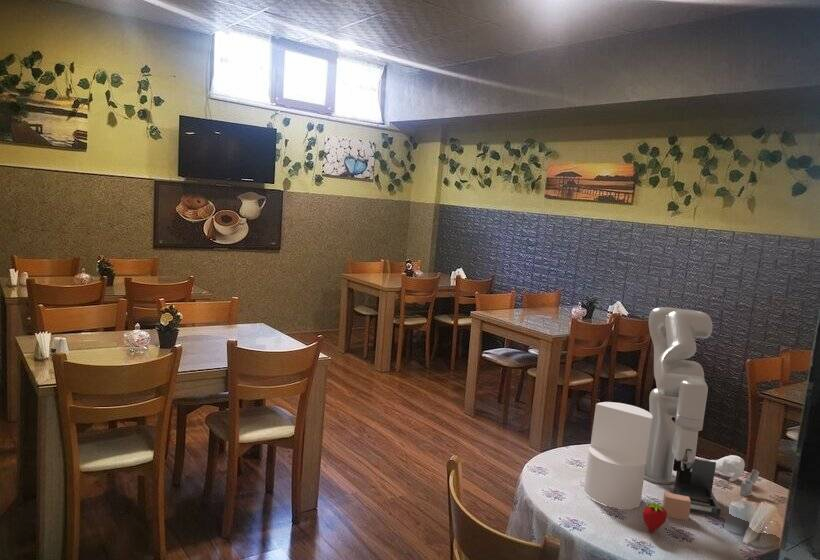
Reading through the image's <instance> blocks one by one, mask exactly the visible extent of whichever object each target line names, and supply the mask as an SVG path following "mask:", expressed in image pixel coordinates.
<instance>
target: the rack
mask: <svg viewBox="0 0 820 560" xmlns="http://www.w3.org/2000/svg"><path fill="white" fill-rule="evenodd" d="M686 460H687V459H686ZM685 464H686V463H685ZM715 467H716V462H712V461H709V460H705V459H700V458H695V461H694V463H692V475H691V482H690V485H686V484H681V483H679V482H678V478H679V472H678V471H676V473H675V474H676V475H675V476H676V480H675V483H674V489H673V491H674V494H677V495H682V496H688V497H689V498H690V501H691V505H690V512H692V513H697V514H702V515H708V516H710V517H711V516H712V517H716V518H720V517H721V512H722V511H721V507H720V505H719V503H718V500H717V499H716V497H715V495H714V493H713V486H714V481H715V479H714V478H715V472H716V471H715Z"/></svg>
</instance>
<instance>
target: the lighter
mask: <svg viewBox="0 0 820 560" xmlns="http://www.w3.org/2000/svg"><path fill="white" fill-rule="evenodd" d="M759 475H760V471H758V470H757V469H752V471H751V473H750V475H749V478H745V479H744V481H742V482H741V485H740V491H739V495H740V496H742V497H745V496H746V497H748V496H747V495H749V494H751V495H752V491H753V486H754V484H756V482H757V480H758V477H759ZM749 496H750V495H749Z"/></svg>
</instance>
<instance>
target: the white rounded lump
mask: <svg viewBox="0 0 820 560" xmlns="http://www.w3.org/2000/svg"><path fill="white" fill-rule="evenodd" d="M708 461H712V462H716V467H715V472H716V471H718V472H720V473H721V474H723V475H725V476H726V477H728V478H729V479H728V481H729V482H735V481H737V480H738V479H739V477H741V476H742V475H743V474H744V469H745V466H746V465H745V460H744V458H742V457H740V456H738V455H734V454H733V455H732V454H730V455H727V456H724V457H721V458H719V459H710V460H708ZM731 473H732V474H733V475H732V476H731Z"/></svg>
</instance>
